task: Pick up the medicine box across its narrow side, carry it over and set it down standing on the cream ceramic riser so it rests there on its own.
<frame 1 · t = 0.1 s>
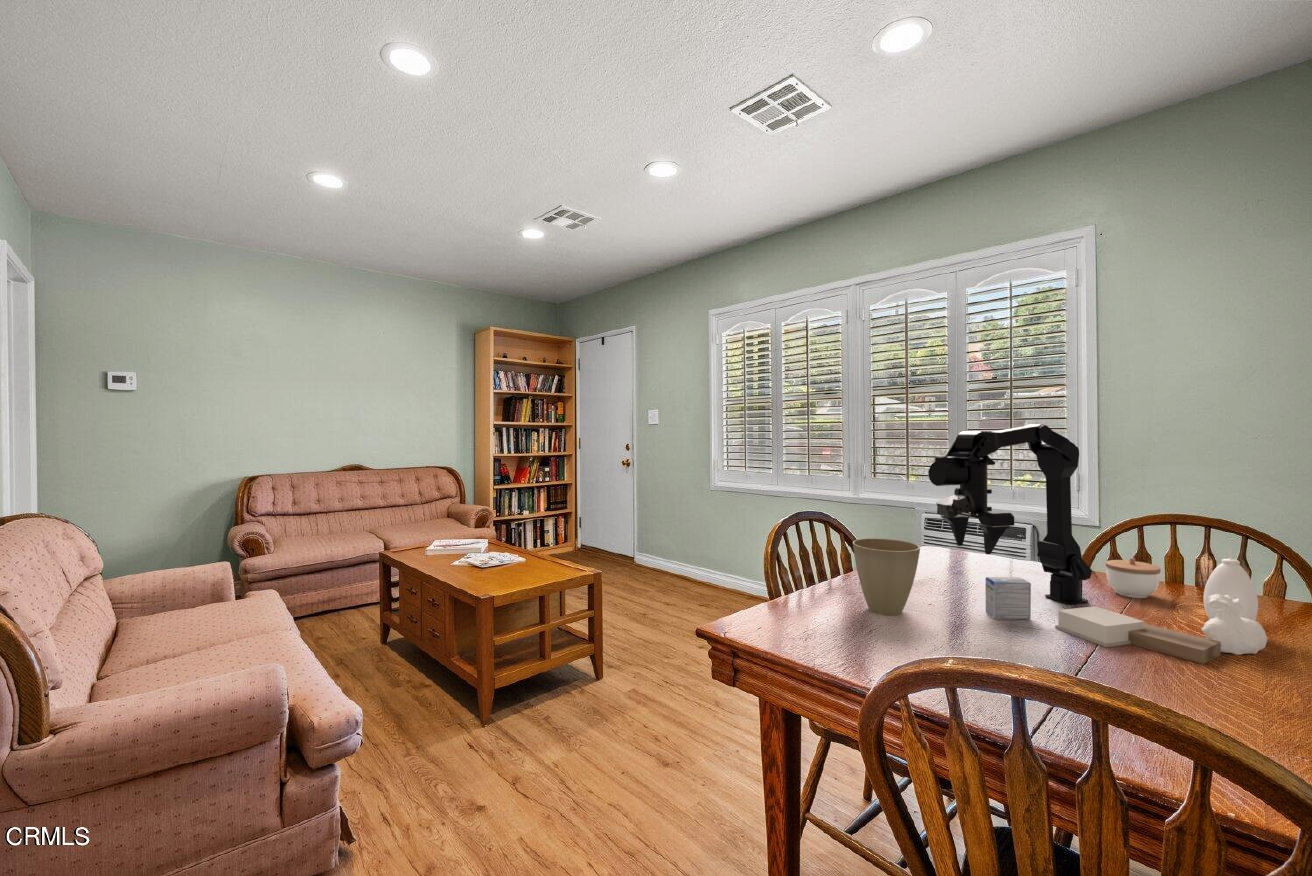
hand: (973, 549, 132), 14 cm above the table, fingers open, 9 cm apart
grey-brown long grooved block: (1170, 648, 109), on the table
medicine box: (1007, 617, 128), on the table
plant pot: (885, 611, 133), on the table
lidded jar: (1132, 595, 143), on the table
sauce bottle: (1229, 633, 117), on the table
riser: (1100, 634, 116), on the table
duck figurine: (1230, 649, 108), on the table
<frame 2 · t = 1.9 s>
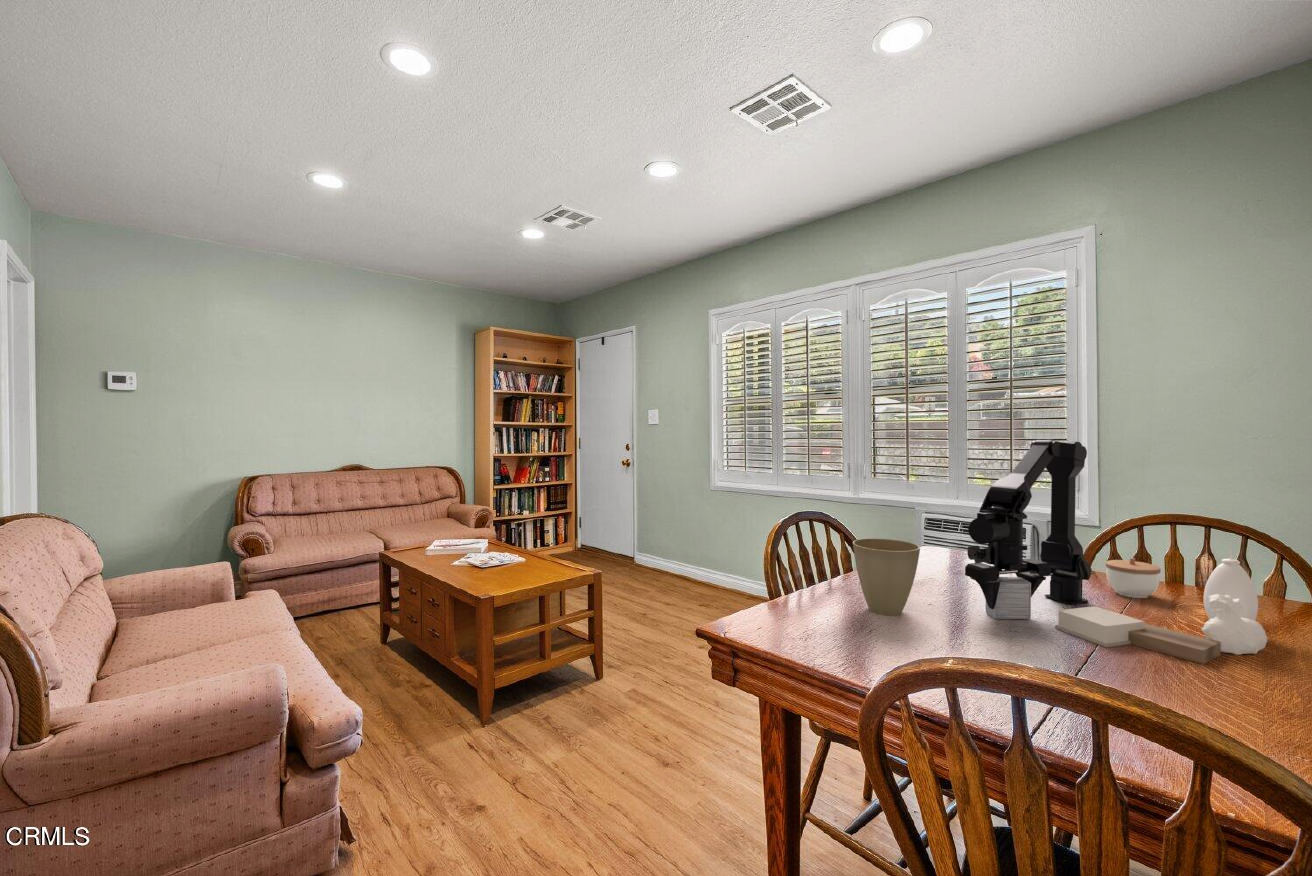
hand: (1007, 606, 128), 2 cm above the table, fingers closed on medicine box, 9 cm apart
medicine box: (1007, 617, 128), on the table, touching gripper
everything else where it was.
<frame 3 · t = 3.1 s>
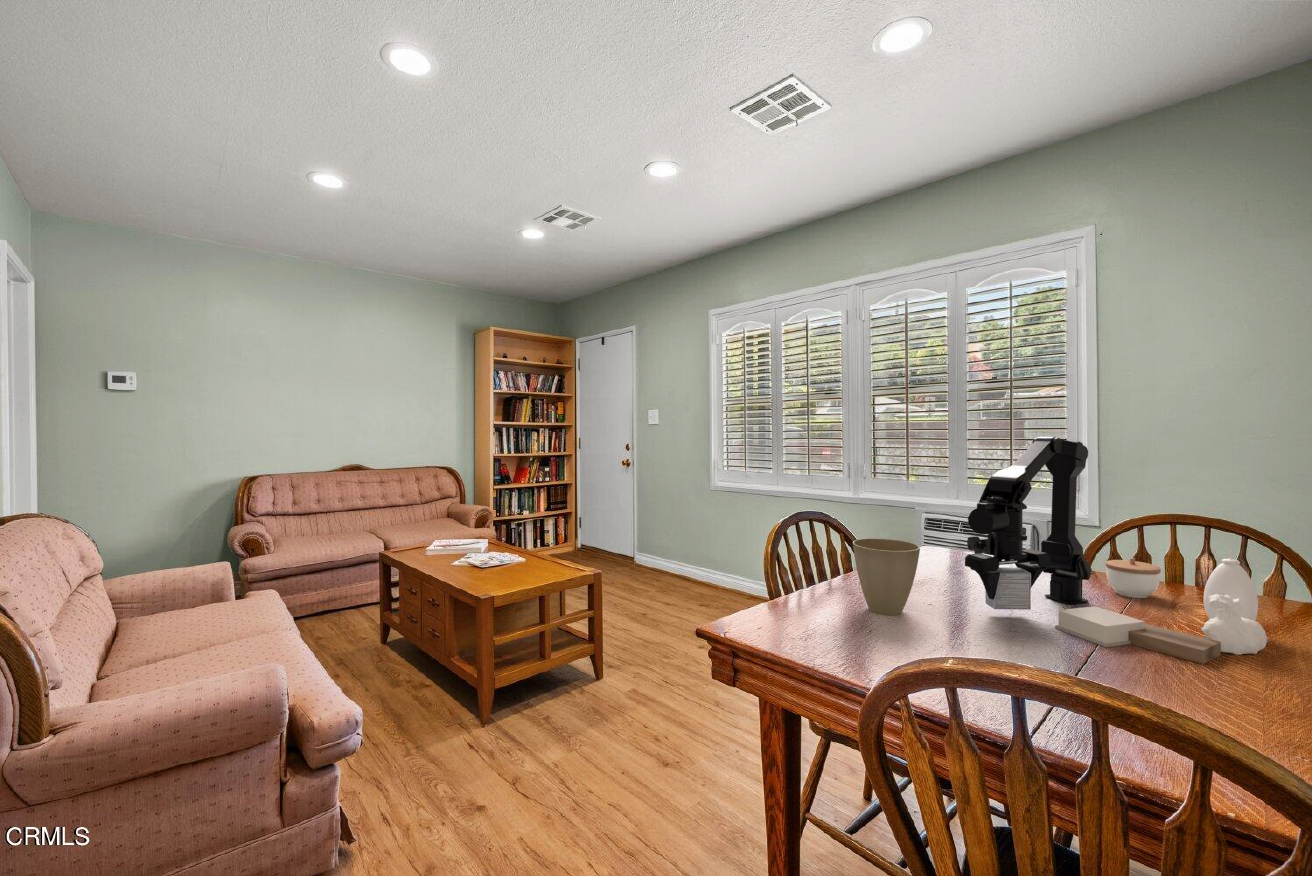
hand: (1007, 597, 128), 4 cm above the table, fingers closed on medicine box, 9 cm apart
medicine box: (1007, 608, 128), point 2 cm above the table, touching gripper
everything else where it was.
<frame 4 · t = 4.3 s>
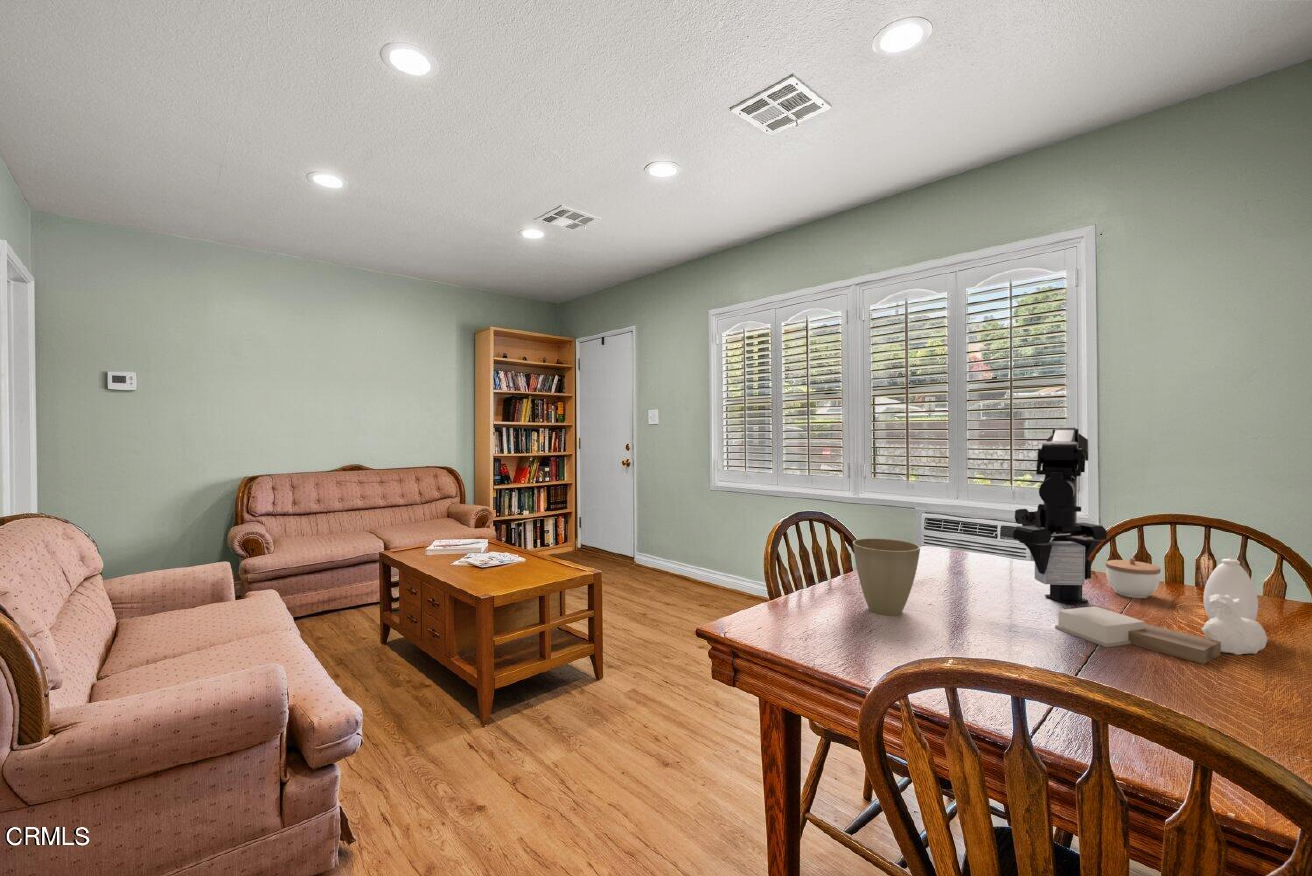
hand: (1059, 572, 121), 12 cm above the table, fingers closed on medicine box, 9 cm apart
medicine box: (1059, 583, 121), point 9 cm above the table, touching gripper
everything else where it was.
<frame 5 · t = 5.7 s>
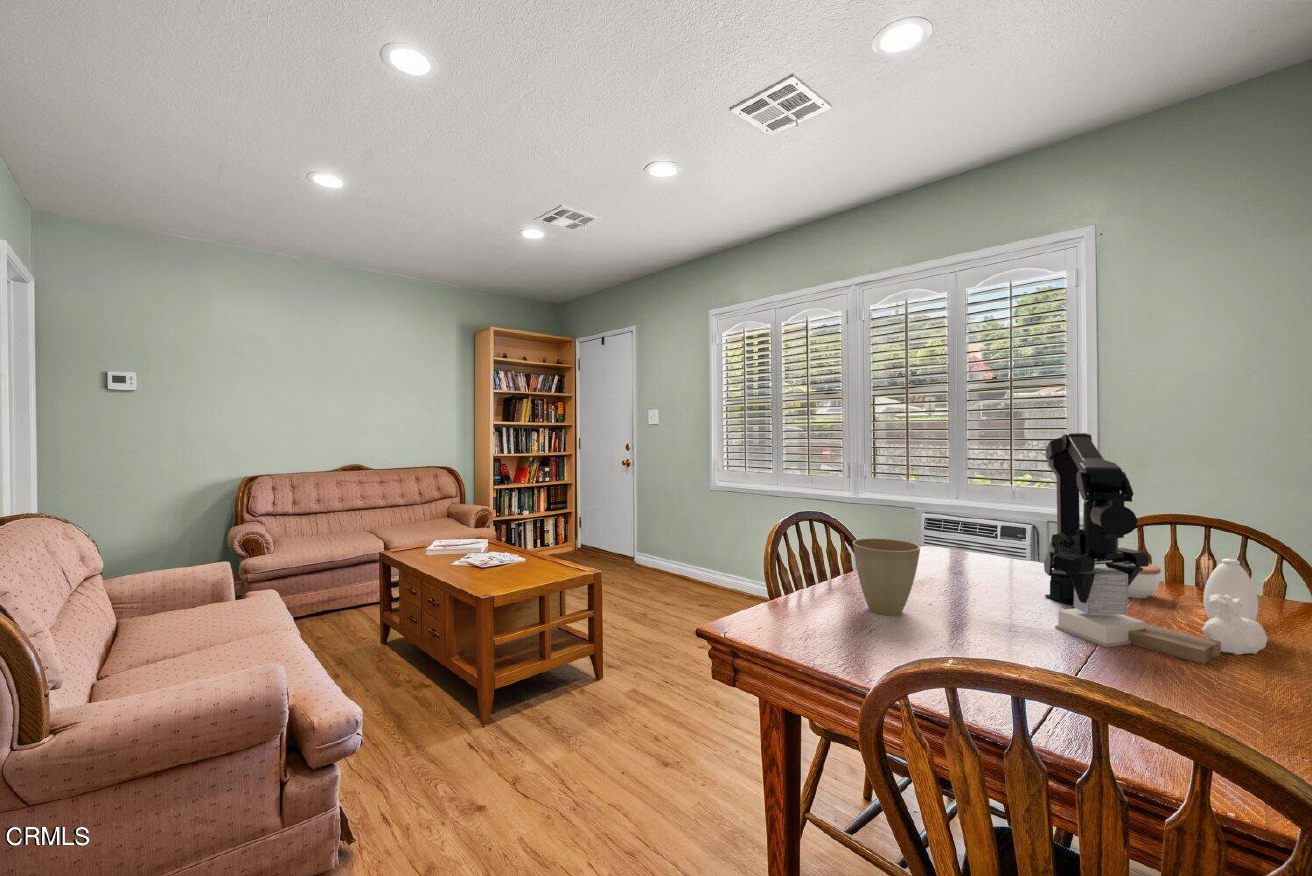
hand: (1100, 600, 116), 7 cm above the table, fingers closed on medicine box, 9 cm apart
medicine box: (1100, 612, 116), point 5 cm above the table, touching gripper
everything else where it was.
when the fingers open (7 cm above the table, at t = 6.7 s): medicine box stays where it is, resting on riser.
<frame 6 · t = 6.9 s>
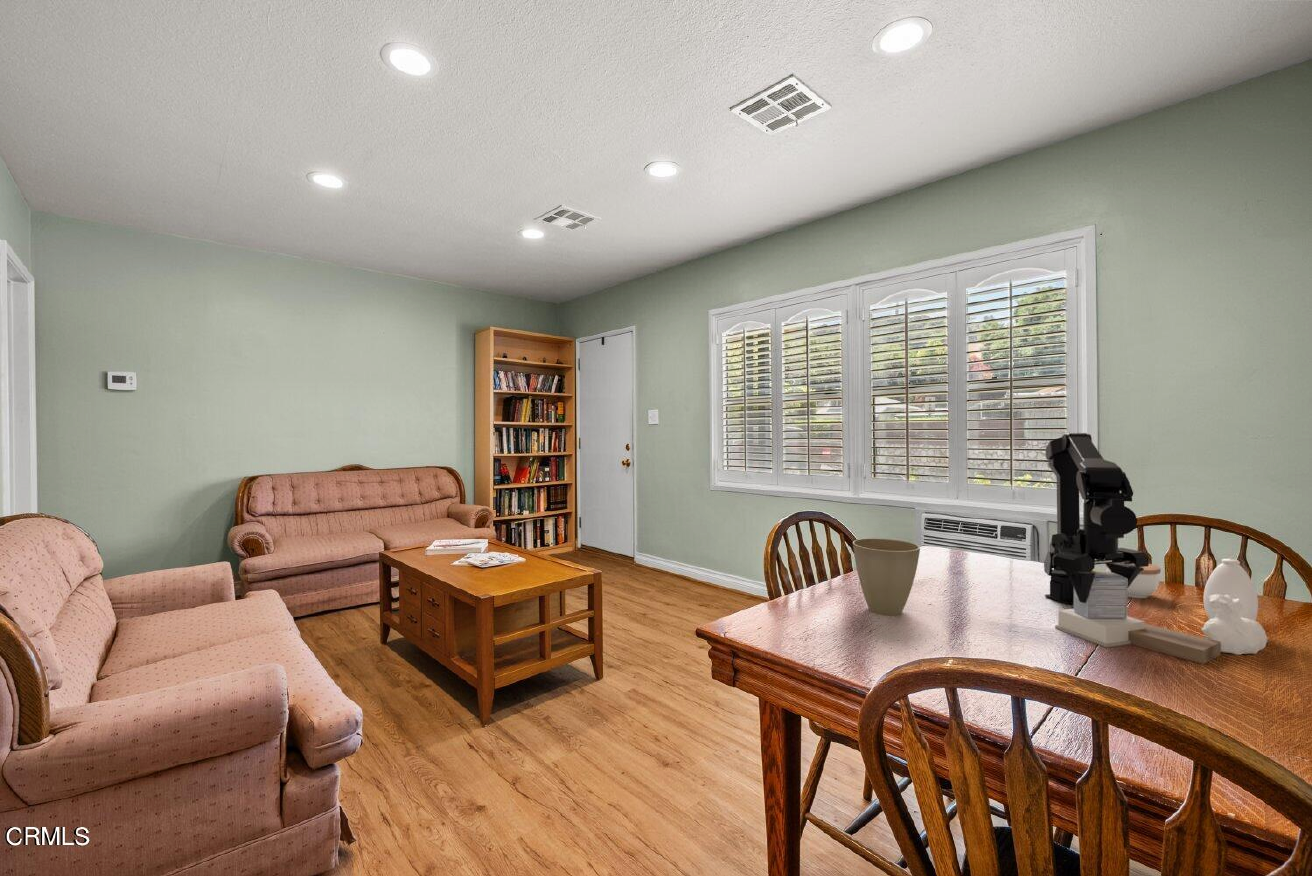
hand: (1100, 600, 116), 7 cm above the table, fingers open, 9 cm apart
medicine box: (1099, 616, 116), point 4 cm above the table, touching riser
everything else where it was.
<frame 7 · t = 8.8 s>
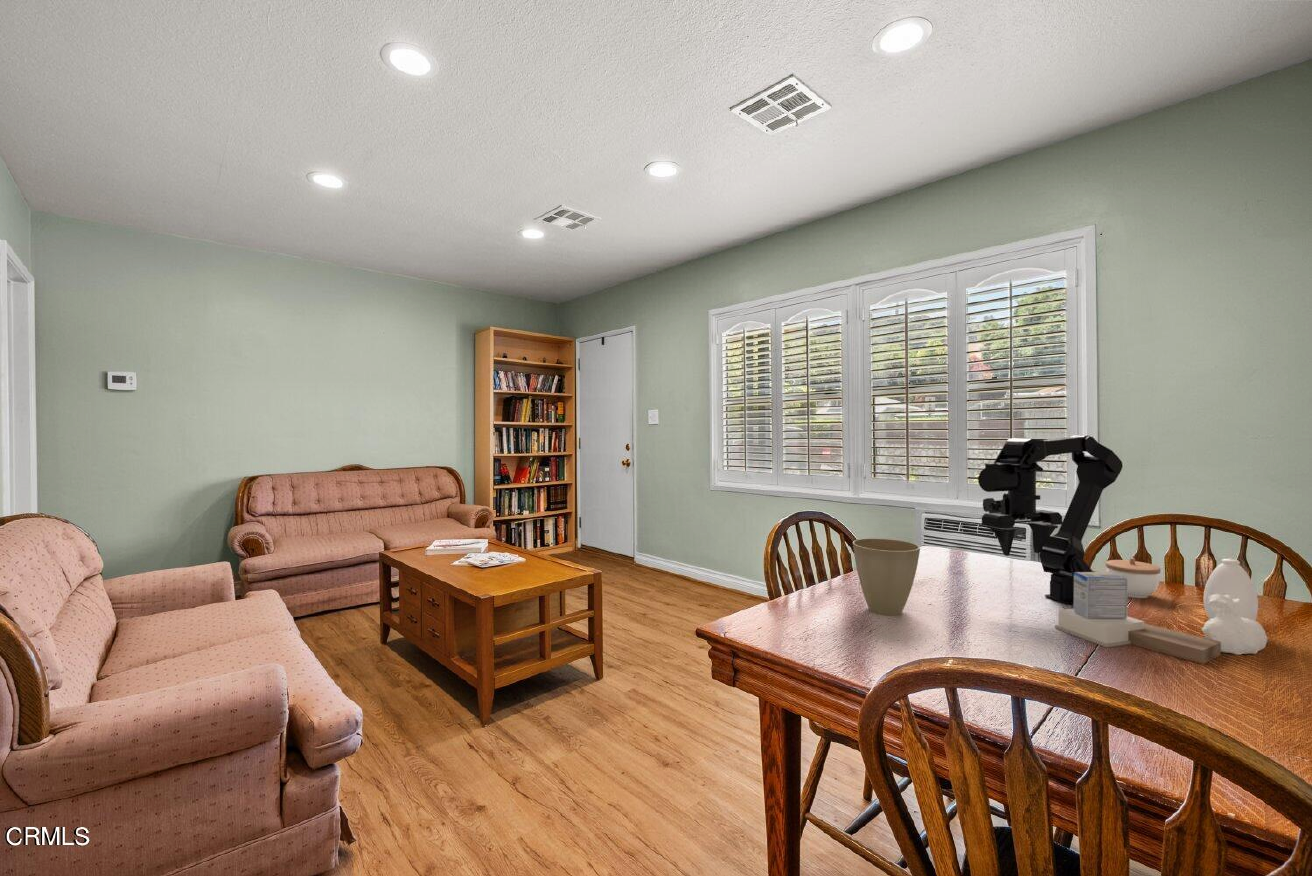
hand: (1021, 554, 135), 12 cm above the table, fingers open, 9 cm apart
nothing on the table moved.
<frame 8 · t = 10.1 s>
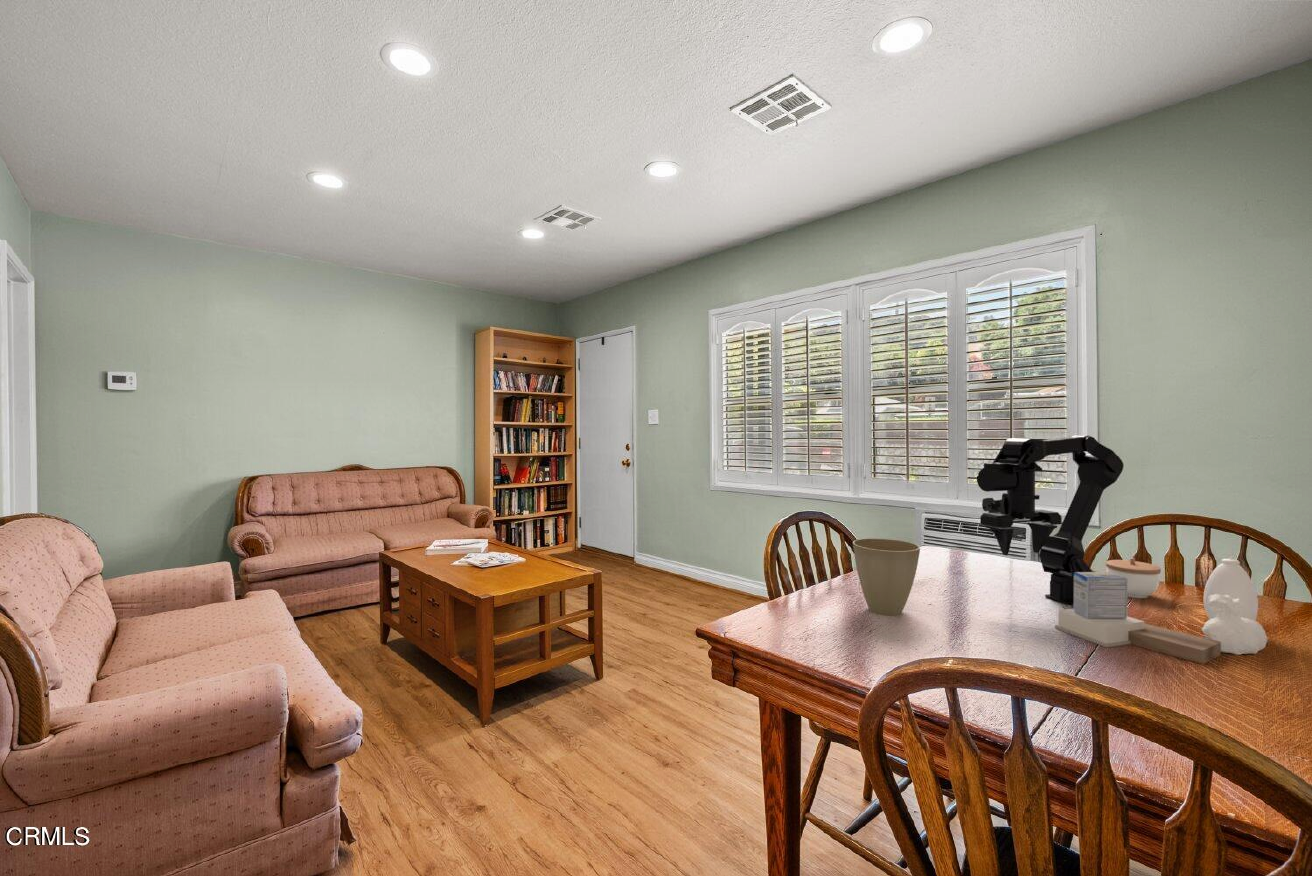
hand: (1020, 553, 136), 13 cm above the table, fingers open, 9 cm apart
nothing on the table moved.
at the end: medicine box 0.0 cm from the riser (horizontally); medicine box point 3.8 cm above the table; medicine box tilted 0° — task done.
